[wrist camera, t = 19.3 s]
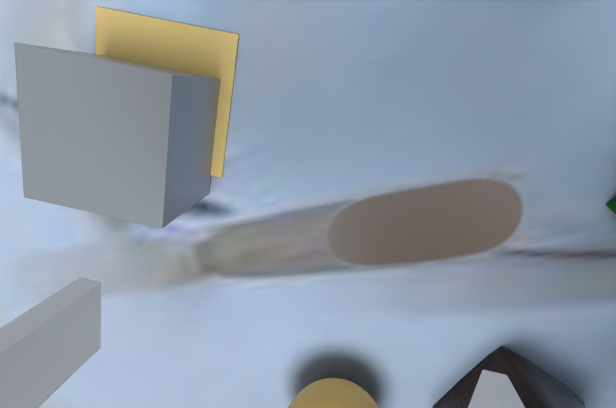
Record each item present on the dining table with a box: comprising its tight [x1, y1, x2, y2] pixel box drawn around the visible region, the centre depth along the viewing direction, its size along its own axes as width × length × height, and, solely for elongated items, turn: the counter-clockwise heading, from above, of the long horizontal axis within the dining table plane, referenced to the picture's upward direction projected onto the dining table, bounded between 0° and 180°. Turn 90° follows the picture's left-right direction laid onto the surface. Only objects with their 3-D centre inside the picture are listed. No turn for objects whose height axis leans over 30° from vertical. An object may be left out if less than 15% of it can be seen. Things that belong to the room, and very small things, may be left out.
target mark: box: [96, 6, 239, 178], centre depth 31 cm, size 12×12×1 cm
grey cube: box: [14, 43, 221, 228], centre depth 28 cm, size 10×10×9 cm
